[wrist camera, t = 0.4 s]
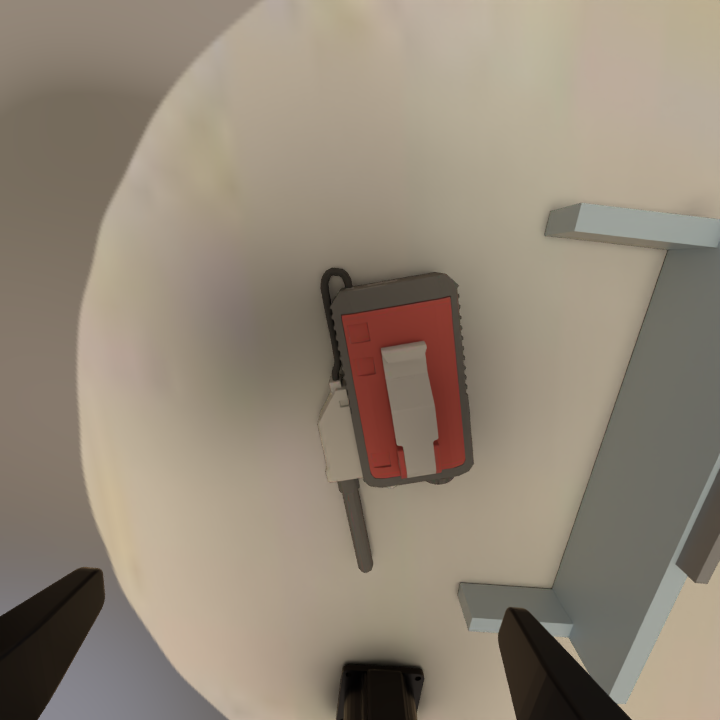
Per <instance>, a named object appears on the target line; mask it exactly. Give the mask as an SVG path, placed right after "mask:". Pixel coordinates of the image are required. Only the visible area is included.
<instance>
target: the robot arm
mask: <svg viewBox="0 0 720 720" xmlns="http://www.w3.org/2000/svg"><path fill="white" fill-rule="evenodd" d="M104 600H105V589H104V579H103V572H102V570H101V569H99V568H90V567H81V568H79V569H76V570H75V571H73V572H71V573H70V574H68V575H67V576H65V577H63V578H62V579H60V580H58V581H57V582H55V583H53V584H52V585H50V586H49V587H47V588H45V589H44V590H42V591H40V592H39V593H37V594H36V595H34V596H33V597H31V598H30V599H28V600H26V601H24V602H23V603H21V604H19V605H18V606H16V607H15V608H13V609H11V610H10V611H8V612H7V613H5V614H3V615H2V616H0V720H38V718H39V717H40V715H41V714H42V712H43V710H44V709H45V707H46V706H47V704H48V703H49V701H50V699H51V698H52V696H53V694H54V692H55V691H56V689H57V687H58V685H59V684H60V682H61V680H62V679H63V677H64V675H65V673H66V672H67V670H68V668H69V666H70V664H71V663H72V661H73V659H74V657H75V655H76V654H77V652H78V650H79V648H80V647H81V645H82V643H83V641H84V640H85V638H86V636H87V634H88V632H89V630H90V629H91V627H92V625H93V624H94V622H95V620H96V618H97V616H98V615H99V613H100V611H101V609H102V607H103V604H104ZM498 642H499V648H500V652H501V656H502V660H503V664H504V668H505V673H506V677H507V681H508V685H509V689H510V694H511V698H512V702H513V706H514V710H515V714H516V719H517V720H632V719H631V718H630V717H629V716H628V715H627V714H626V713H625V712H624V711H623V710H622V709H621V708H620V707H619V706H618V705H617V704H616V702H615V701H614V700H613V699H612V698H611V697H610V696H609V695H608V694H607V693H606V692H605V691H604V690H603V689H602V688H601V687H600V686H599V685H598V683H597V682H596V681H595V680H594V679H593V678H592V677H591V676H590V675H589V674H588V673H587V672H586V671H585V670H584V669H583V668H582V667H581V666H580V664H579V663H578V662H577V661H576V660H575V659H574V658H573V657H572V656H571V655H570V654H569V653H568V652H567V651H566V650H565V649H564V648H563V647H562V645H561V644H560V643H559V642H558V641H557V640H556V639H555V638H554V637H553V636H552V635H551V634H550V633H549V632H548V631H547V630H546V629H545V628H544V626H543V625H542V624H541V623H540V622H539V621H538V620H537V619H536V618H535V617H534V616H533V615H532V614H531V613H530V612H529V611H528V610H526V609H525V608H518V607H508V608H507V609H506V611H505V614H504V617H503V620H502V623H501V626H500V629H499V633H498ZM423 682H424V674H423V670H422V669H419V668H405V667H388V666H371V665H353V664H347V665H344V666H343V668H342V675H341V683H340V691H339V699H338V707H337V715H336V720H417V709H418V704H419V700H420V695H421V691H422V687H423Z"/></svg>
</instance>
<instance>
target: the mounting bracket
mask: <svg viewBox="0 0 720 720" xmlns="http://www.w3.org/2000/svg"><path fill="white" fill-rule="evenodd" d="M545 236H552V237H561V238H570V239H578V240H587V241H596V242H605V243H613V244H622V245H631V246H640V247H648V248H657V249H666V250H668V252H667V255H666V258H665V261H664V264H663V267H662V270H661V273H660V276H659V279H658V281H657V284H656V287H655V290H654V293H653V296H652V299H651V302H650V305H649V308H648V311H647V314H646V316H645V319H644V322H643V325H642V328H641V331H640V334H639V337H638V340H637V343H636V346H635V349H634V351H633V354H632V357H631V360H630V363H629V366H628V369H627V372H626V375H625V378H624V381H623V384H622V386H621V389H620V392H619V395H618V398H617V401H616V404H615V407H614V410H613V413H612V416H611V419H610V421H609V424H608V427H607V430H606V433H605V436H604V439H603V442H602V445H601V448H600V451H599V454H598V456H597V459H596V462H595V465H594V468H593V471H592V474H591V477H590V480H589V483H588V486H587V489H586V491H585V494H584V497H583V500H582V503H581V506H580V509H579V512H578V515H577V518H576V521H575V524H574V526H573V529H572V532H571V535H570V538H569V541H568V544H567V547H566V550H565V553H564V556H563V559H562V562H561V564H560V567H559V570H558V573H557V576H556V579H555V582H554V585H553V588H552V589H543V588H529V587H514V586H500V585H486V584H471V583H460V587H459V591H458V598H459V602H460V605H461V608H462V611H463V615H464V618H465V621H466V624H467V628H468V631H476V632H492V633H499V629H500V626H501V623H502V620H503V617H504V614H505V611H506V609H507V608H508V607H518V608H525V609H526V610H528V611H529V612H530V613H531V614H532V615H533V616H534V617H535V618H536V619H537V620H538V621H539V622H540V623H541V624H542V625H543V626H544V628H545V629H546V630H547V631H548V632H549V633H550V634H551V635H552V636H555V637H568V638H569V639H570V641H571V643H572V645H573V646H574V648H575V650H576V652H577V653H578V655H579V657H580V659H581V660H582V662H583V664H584V666H585V667H586V669H587V671H588V673H589V674H590V676H591V677H592V678H593V679H594V680H595V681H596V682H597V683H598V685H599V686H600V687H601V688H602V689H603V690H604V691H605V692H606V693H607V694H608V695H609V696H610V697H611V698H612V699H613V700H614V701H615V702H616V704H626V703H627V700H628V698H629V696H630V694H631V692H632V690H633V688H634V686H635V684H636V682H637V680H638V678H639V676H640V674H641V671H642V669H643V667H644V665H645V663H646V661H647V659H648V657H649V655H650V653H651V651H652V649H653V647H654V645H655V642H656V640H657V638H658V636H659V634H660V632H661V630H662V628H663V626H664V624H665V622H666V620H667V618H668V616H669V613H670V611H671V609H672V607H673V605H674V603H675V601H676V599H677V597H678V595H679V593H680V591H681V589H682V587H683V584H684V582H685V580H686V578H687V576H688V577H689V578H691V579H692V580H693V581H694V582H695V583H703V584H708V582H709V580H710V578H711V576H712V574H713V572H714V570H715V568H716V566H717V564H718V562H719V560H720V219H713V218H704V217H696V216H688V215H679V214H671V213H663V212H654V211H646V210H637V209H629V208H621V207H612V206H604V205H596V204H587V203H579V204H576V205H572V206H568V207H565V208H561V209H557V210H554V211H550V216H549V220H548V224H547V228H546V232H545Z"/></svg>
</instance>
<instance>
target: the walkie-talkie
mask: <svg viewBox="0 0 720 720" xmlns="http://www.w3.org/2000/svg"><path fill="white" fill-rule="evenodd" d="M333 275H334V276H340V277H342V279H343V281H344V283H345V287H346V288H342V289H341V290H340V292H339V293H338V295H337V296H336V298H335V299H334V301H333V303H332V304H331V299H330V294H329V286H328V284H329V279H330V278H331V276H333ZM458 286H459V285H458V284H457V283H456V282H454V281H453V280H452V279H451V278H450V277H449V276H448V275H447V274H445V273H436V272H433V273H427V274H422V275H416V276H410V277H405V278H399V279H393V280H388V281H382V282H376V283H370V284H365V285H359V286H352V281H351V278H350V276H349V274H348V273H347V272H346V271H345V270H343V269H339V268H331V269H329V270H327V271H326V272H325V273H324V274H323V276H322V279H321V293H322V298H323V303H324V308H325V313H326V318H327V323H328V328H329V333H330V338H331V342H332V348H333V354H334V360H335V363H334V367H333V370H332V376H330V381H329V386H330V390H331V392H330V394H329V396H328V398H327V400H326V402H325V404H324V406H323V408H322V410H321V412H320V416H319V420H318V424H317V425H318V429H319V434H320V438H321V443H322V447H323V452H324V456H325V461H326V471H325V472H326V476H327V480H328V482H330V483H331V482H338V487H339V491H340V492H341V493H342V495H343V499H344V504H345V508H346V513H347V517H348V522H349V526H350V531H351V535H352V540H353V544H354V549H355V553H356V558H357V562H358V567H359V569H360V570H361V571H362V572H364V573H367V572H369V571H371V570H372V567H373V560H372V556H371V551H370V546H369V541H368V536H367V531H366V526H365V521H364V516H363V511H362V506H361V501H360V496H359V491H358V488H359V481H358V478H363V480H364V481H365V482H366V483H367V484H368V485H369V486H373V487H381V488H383V487H387V488H395V487H396V486H397V485H402V484H409V483H415V482H422V481H427V482H429V483H432V484H437V485H438V484H445V483H447V482H449V481H451V480H452V479H453V478H454V476H460V475H462V474H464V473H466V472H468V471H469V470H470V469H471V467H472V466H473V464H474V460H473V447H472V437H471V425H470V412H469V402H468V394H467V393H466V389H467V385H466V384H465V380H466V375H465V374H464V370H465V369H466V368H465V366H464V363H463V360H465V357H464V356H463V350H464V347H463V346H462V340H463V336H461V330H462V326H461V325H460V319H461V316H460V315H459V309H460V305H459V304H458V298H459V294H457V287H458ZM341 361H342V367H341ZM340 367H341V368H342V370H343V371H344V376H343V379H342V377H341V375H339V370H340Z"/></svg>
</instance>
